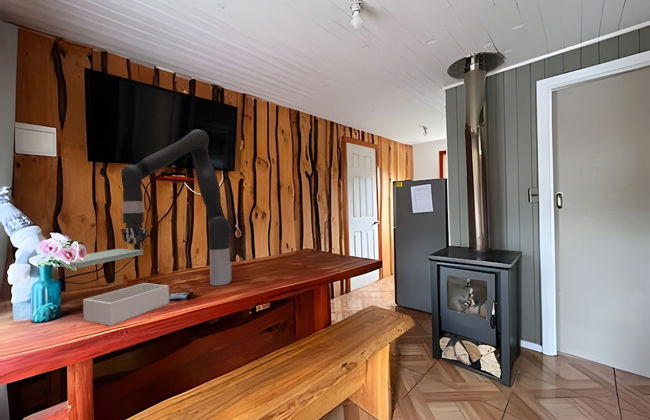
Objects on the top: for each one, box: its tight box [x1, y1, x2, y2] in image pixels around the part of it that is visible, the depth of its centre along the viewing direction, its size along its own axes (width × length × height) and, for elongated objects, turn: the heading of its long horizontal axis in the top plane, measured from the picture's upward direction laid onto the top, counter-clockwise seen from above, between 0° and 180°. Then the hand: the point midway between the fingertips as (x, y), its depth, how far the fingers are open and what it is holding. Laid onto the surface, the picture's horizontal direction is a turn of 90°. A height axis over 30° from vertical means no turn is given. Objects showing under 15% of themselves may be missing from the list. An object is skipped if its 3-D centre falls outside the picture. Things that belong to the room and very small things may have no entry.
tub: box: [82, 282, 170, 326], centre depth 101 cm, size 21×14×7 cm, turn 159°
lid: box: [58, 243, 144, 269], centre depth 108 cm, size 27×16×4 cm, turn 159°
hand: (134, 251), depth 118 cm, fingers closed on lid, 3 cm apart
